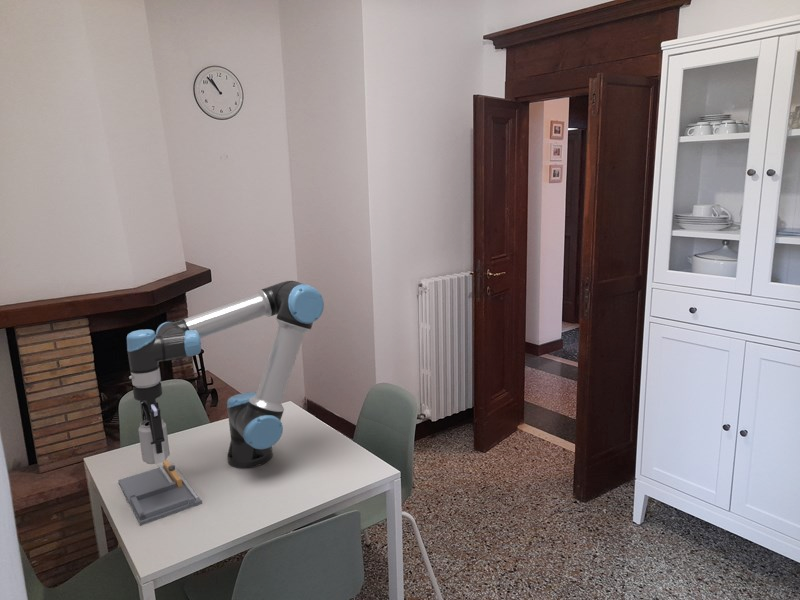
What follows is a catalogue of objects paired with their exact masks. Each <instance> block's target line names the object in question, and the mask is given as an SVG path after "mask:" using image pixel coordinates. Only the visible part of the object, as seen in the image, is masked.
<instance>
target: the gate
mask: <svg viewBox="0 0 800 600" xmlns="http://www.w3.org/2000/svg"><path fill="white" fill-rule="evenodd" d="M169 462H170V461H169V460H168V459H166V460H165V462H162V466H163V467H164V469H165V470H166V471H167V473H168V474H169V476H170V477H171V479H172V480H173V481H174V482H175V483H176V486H177V487H181V486H182V479H181V478H180V476H179V475H178V474H177V472H176V471H175V466H176V465H175V464H174V465H175V466H174V465H171V464H170V463H169Z"/></svg>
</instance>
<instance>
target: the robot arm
mask: <svg viewBox="0 0 800 600" xmlns="http://www.w3.org/2000/svg"><path fill="white" fill-rule="evenodd" d="M324 305H325V302H324V298H323V296H322V294H321V292H320V291H319V290H317V288H315V287H313V286H311V285H309V284H305V283H302V282H299V281H296V280H285V281H282V282H279V283H276V284H273V285H271V286H270V285H269V286H268V287H265V288H262V289H260V290H258V292H257V293H256V294H253V295H250V296H247V297H244V298H242V299H239V300H236V301H233V302H230V303H227V304H224V305H221V306H218V307H215V308H213V309H210V310H207V311H205V312H201V313H198V314H194V315H192V316H190V317H186V318H184V319H180V320H178V321H174V322H173V321H165V322H163V323H161V324H159V325H158V327H157V329H156V331H155V330H153V329H147V328H146V329H138V330H133V331H131V332H129V333H127V336H126V348H127V349H126V351H127V355H128V356H127V358H128V364H129V369H130V374H131V375H130V376H128V378H129V380H131V383H132V386H133V387H132V391H133V393H132V394H133V398H134V400H136V401H137V402H138V401H139V403H140V405H139V406H140V413H141V422H142V421H144V420H148V421H149V422H147V423H145V425H146V426H148V425H150V429H151V434H152V439H153V442H151V444H152V446H153V453H154V461H155V464H154V465H158V464H159V465H160V464H163V462H165V455H164V448H163V442H164V441H165V439H164V435H163V428H162V422H161V419H162V418H161V408H160V405H159V402H157V398H160V397H161V396H162V395H163V388H162V383H161V381H162V377H161V369H160V363H159V362H165V361H171V360H176V359H182V358H183V359H184V358H190V357H192V356H193V357H194V356H196V355H199V354H200V353H201V350H202V341H201V339H203V338H205V337H208V336H211V335H213V334H217V333H219V332H222V331H224V330H228V329H231V328H233V327H236V326H239V325H242V324H244V323H248V322H250V321H253V320H255V319H258V318H261V317H263V316H266V317H273V316H276V315H277V316H276V319H275V320H276V322H277V324H278V327H277V331H276V334H275V337H274V339H273V342H272V345H271V348H270V351H269V355H268V358H267V360H266V363H265V366H264V369H263V372H262V376H261V378H260V380H259V381H260V382H259V385H258V388H257V390H256V392H255V391H250V392H249V391H248V392H242V393H238V394H235V395H232V396H230V397H229V398H228V399H227V401H226V405H227V407H226V409H227V416H228V417H227V418H228V425H229V433H230V434H229V435H230V443H229V446H228V452H227V463H228V465H229V466H231V467H233V468H239V469H247V468H248V469H249V468H253V467H257V466H261V465H263V464H265V463H267V462H268V461H270V460H271V459H272V457H273V454H274V453H273V448H272V446H275V445H276V444H277V443H278V442H279V441H280V440H281V437H282V436H283V432H284V426H283V423H282V421H281V420H282V418H283V415H284V414H283V413H284V411H285V408H284V406H283V403H282V402H283V400H284V396H285V393H286V390H287V386H288V384H289V381H290V378H291V376H292V372H293V369H294V366H295V363H296V361H297V358H298V354H299V351H300V348H301V346H302V342H303V339H304V336H305V334H306V333H307V332H309V331H311V330H312V326H313V323H315V322H316V321H317V320H319V319H320V318H321V316H322V314H323V313H324V312H323V311H324V309H325V306H324Z"/></svg>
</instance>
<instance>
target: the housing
mask: <svg viewBox="0 0 800 600" xmlns="http://www.w3.org/2000/svg"><path fill="white" fill-rule="evenodd" d="M169 463H170V464H171V465H174V466H175V471H176V472H177V474H178V475H179V476H180V478H181V479H182V486H181V487H177V486H176V483H175V482H174V481H173V480H172V479H171V477H170V476H169V474H168V473H167V471H166V470H165V469H164V467H163V465H162V464H159V465H158V466H157V468H153V469H149V470H147V471H143V472H140V473H136V474H134V475H131V476H130V475H129V476H126V477H123V478H120V479H118V484H119V486H120V488H121V491H122V492H123V493H124V497H125V498H126V500H127V502H128V504H129V506H130V508H131V510H132V512H133V514H134V516H135V518H136V519H137V522H138V523H139V525H140V527H141V526H143V525H146V524H149V523H152V522H154V521H158V520H159V519H163V518H166V517H168V516H171V515H174V514H177V513H180V512H183V511H185V510H188V509H190V508H193V507H196V506H199V505H202V504H203V502H202V499H201V497H199V495H198V494H197V492H196V491H195V490H194V489H193V487H192V486H191V485H190V483H189V482H188V481H187V479H186V478H185V477H184V475H183V474H182V472H181V471H180V470H179V469H178V467H177V466H176V465H175V463H174V462H172V461H169Z"/></svg>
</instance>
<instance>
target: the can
mask: <svg viewBox="0 0 800 600" xmlns="http://www.w3.org/2000/svg"><path fill="white" fill-rule="evenodd" d="M147 422H149V421H148V420H144V421H142V420H141V422H140V423H139V427H138V430H137V431H138V437H139V444H140V445H139V446H140V452H141V459H142V461H143V462H144V463H146V464H149V465H156V464H155V461H154V453H153V446H152V444H151V442H153V439H152V434H151V429H150V425H148V426H146V425H145V423H147ZM161 422H162V428H163V435H164V439H165V441H164V442H163V448H164V455H165V460H168V458H169V456H170V455H171V453H170V445H169V435H168V430H167V423H166V422H165V421H164V419H163V418H161Z"/></svg>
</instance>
